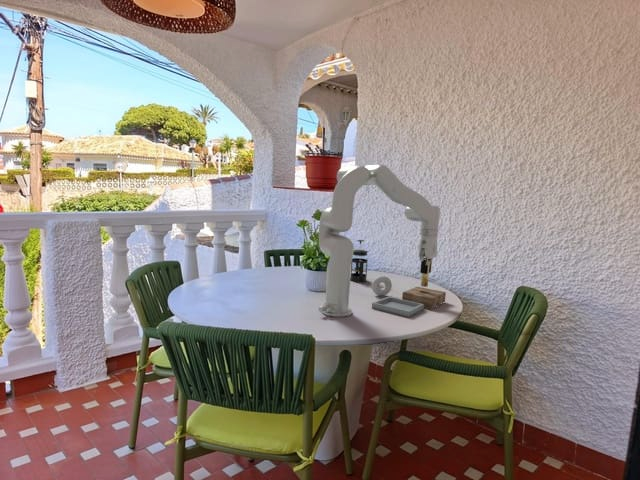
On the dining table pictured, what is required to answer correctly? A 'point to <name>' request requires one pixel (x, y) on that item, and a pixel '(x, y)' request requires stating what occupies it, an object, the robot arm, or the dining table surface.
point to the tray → (398, 306)
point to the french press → (359, 276)
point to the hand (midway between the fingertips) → (425, 272)
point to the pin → (425, 277)
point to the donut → (377, 281)
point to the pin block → (425, 296)
